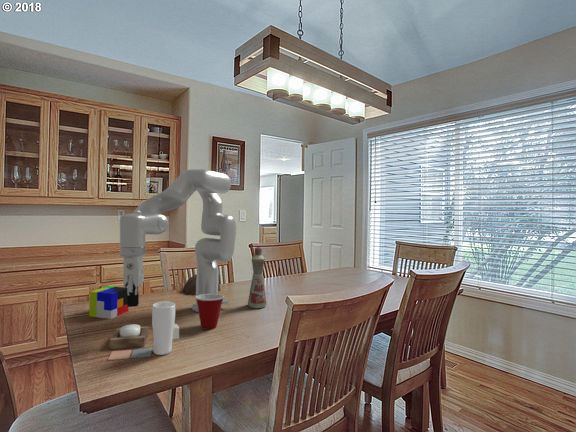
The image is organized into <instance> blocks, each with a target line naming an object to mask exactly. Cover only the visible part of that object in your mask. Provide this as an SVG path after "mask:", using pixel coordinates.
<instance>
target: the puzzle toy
mask: <svg viewBox="0 0 576 432" xmlns="http://www.w3.org/2000/svg"><path fill="white" fill-rule="evenodd" d="M127 295H128V292H127V288H125V287H124V286H123V287H121V286H114V285H113V286H112V285H107V286H104V287H100V288H97V289H94V290H92V291H91V290H90V291H89V308H88V311H89V312H88V313H89V315H88V316H89V317H93V318H100V319H110V320H111V319H114V318H116V317H119V316H120V315H124V314H125V313H127V312H129V307H128V306H127Z"/></svg>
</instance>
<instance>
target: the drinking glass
mask: <svg viewBox="0 0 576 432" xmlns="http://www.w3.org/2000/svg"><path fill="white" fill-rule="evenodd" d="M151 311H152V312H151V323H152V340H153V341H152V342H153V354H155V355H157V356H163V355H164V356H165V355H167V354H169V353H171V352H172V349H173V340H172V339H173V331H174V324H176V323H175V321H176V303H175V302H174V301H167V300H166V301H158V302H155V303H153V304H152V309H151Z"/></svg>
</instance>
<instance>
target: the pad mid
mask: <svg viewBox="0 0 576 432" xmlns="http://www.w3.org/2000/svg"><path fill="white" fill-rule="evenodd" d="M153 350H154V347H153V348H152V347H148V348H139V349H138V348H136V349H133V350H132V352H131V354H130V356H129V358H130V360H131V359H141V358H151V357H152V352H153Z"/></svg>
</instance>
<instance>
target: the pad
mask: <svg viewBox="0 0 576 432" xmlns="http://www.w3.org/2000/svg"><path fill="white" fill-rule="evenodd" d="M132 352H133V350H132V349H127V350H126V349H125V350H112V351H111V353H110V355H109V357H108V358H107V361H117V360H119V361H120V360H129V358H130V357H131V355H132Z"/></svg>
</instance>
